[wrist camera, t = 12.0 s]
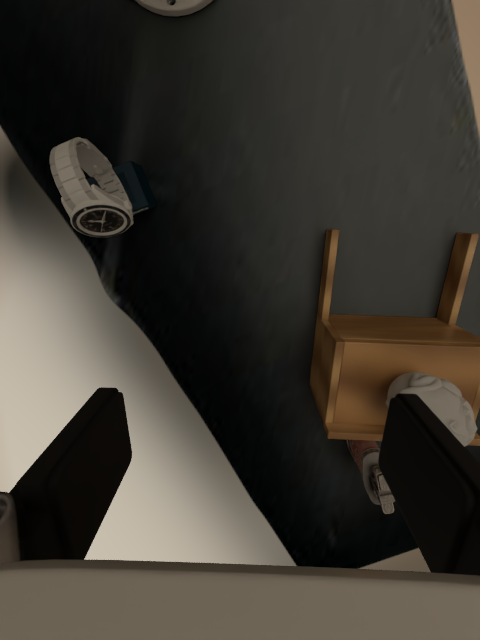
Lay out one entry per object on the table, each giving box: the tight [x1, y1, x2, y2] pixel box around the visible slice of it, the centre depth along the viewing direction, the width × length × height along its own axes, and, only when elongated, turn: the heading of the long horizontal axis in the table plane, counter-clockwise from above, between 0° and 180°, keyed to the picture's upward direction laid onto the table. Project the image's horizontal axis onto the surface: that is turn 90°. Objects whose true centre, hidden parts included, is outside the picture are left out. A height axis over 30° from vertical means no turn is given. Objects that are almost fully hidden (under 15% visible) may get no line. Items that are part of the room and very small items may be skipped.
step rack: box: [309, 229, 480, 446], centre depth 32 cm, size 20×15×10 cm
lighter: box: [346, 439, 395, 514], centre depth 38 cm, size 8×3×10 cm, turn 17°
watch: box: [50, 137, 157, 237], centre depth 29 cm, size 6×8×11 cm
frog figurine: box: [386, 372, 477, 447], centre depth 27 cm, size 6×7×7 cm
